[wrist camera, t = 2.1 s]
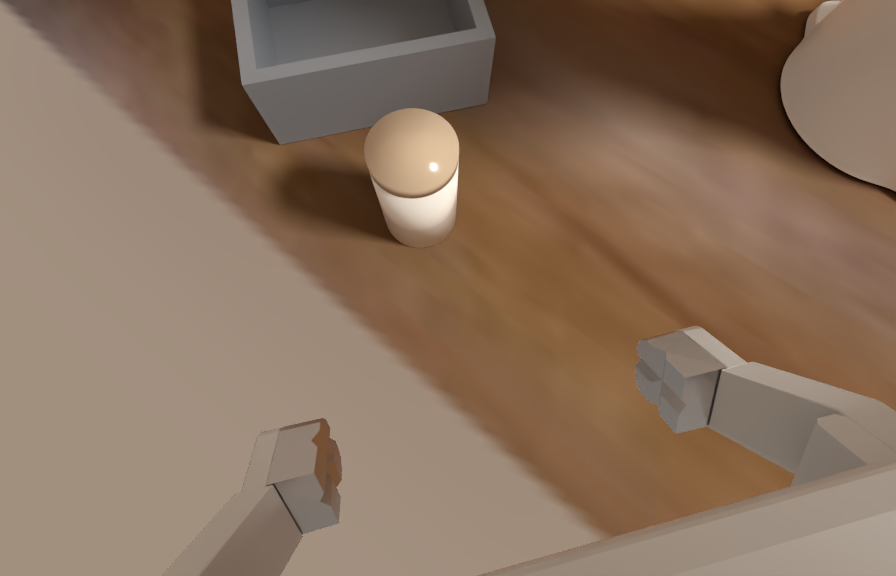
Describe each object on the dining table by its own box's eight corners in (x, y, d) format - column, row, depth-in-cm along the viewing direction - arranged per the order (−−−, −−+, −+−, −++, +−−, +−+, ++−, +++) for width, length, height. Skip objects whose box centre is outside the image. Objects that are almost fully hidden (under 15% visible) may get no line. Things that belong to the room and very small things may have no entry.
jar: (446, 177, 30) (446, 100, 23) (463, 239, 29) (469, 179, 21) (379, 191, 30) (356, 118, 22) (393, 254, 29) (373, 200, 21)
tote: (447, -22, 35) (448, -105, 30) (486, 103, 32) (495, 37, 26) (260, 12, 34) (222, -68, 29) (280, 144, 31) (241, 85, 25)
